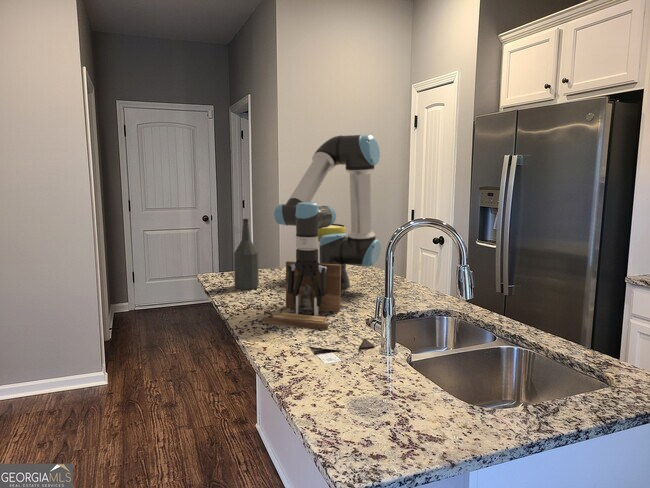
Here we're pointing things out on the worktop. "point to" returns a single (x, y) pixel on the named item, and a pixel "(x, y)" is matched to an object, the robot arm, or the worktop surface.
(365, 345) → the chocolate bar
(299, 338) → the worktop surface
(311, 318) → the upper offcut
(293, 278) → the robot arm
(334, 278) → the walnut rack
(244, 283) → the bottle
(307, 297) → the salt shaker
